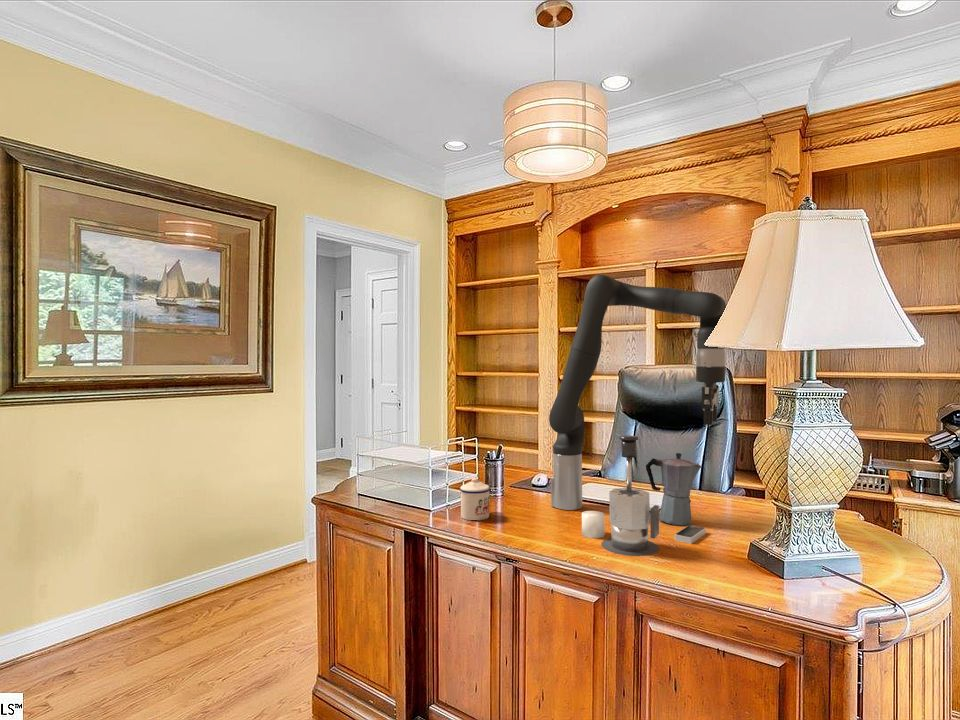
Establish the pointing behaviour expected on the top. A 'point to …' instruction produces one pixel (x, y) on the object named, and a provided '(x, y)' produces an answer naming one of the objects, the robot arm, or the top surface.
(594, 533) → the white rounded cylinder
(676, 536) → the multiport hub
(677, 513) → the moka pot
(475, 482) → the teacup with lid
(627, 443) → the plunger
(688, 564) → the top surface
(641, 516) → the press carafe
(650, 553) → the coaster
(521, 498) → the top surface
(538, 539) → the top surface
